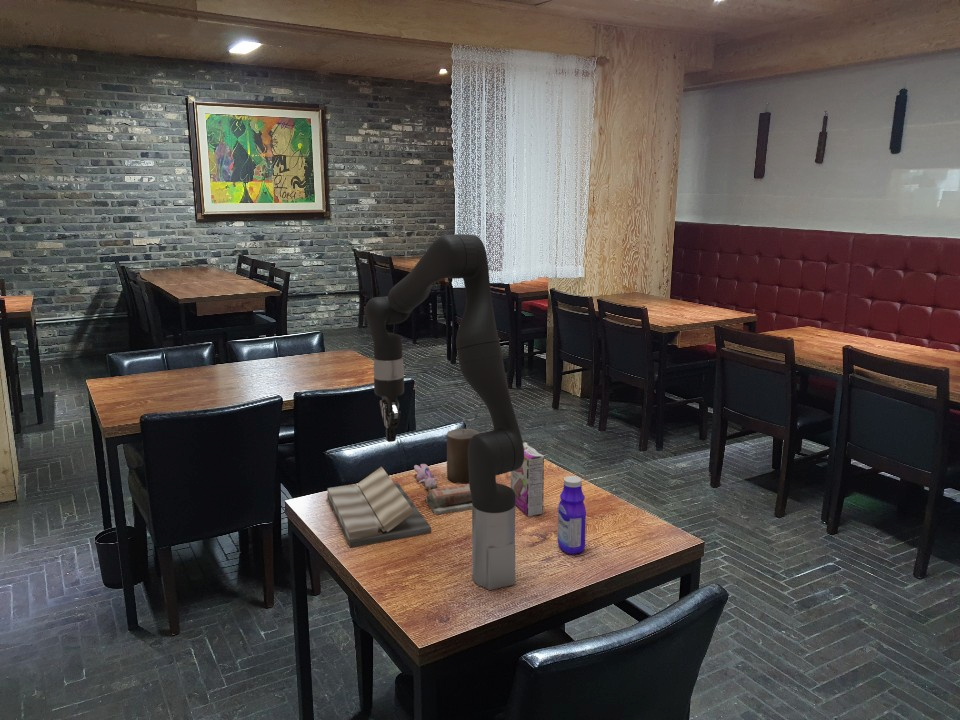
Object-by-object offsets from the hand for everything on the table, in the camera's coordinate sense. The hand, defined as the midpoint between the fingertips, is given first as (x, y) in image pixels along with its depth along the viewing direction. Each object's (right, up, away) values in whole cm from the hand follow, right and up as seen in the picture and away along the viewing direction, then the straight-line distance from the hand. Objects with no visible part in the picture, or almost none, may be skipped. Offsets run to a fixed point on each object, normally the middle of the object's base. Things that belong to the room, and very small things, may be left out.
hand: (390, 440), depth 179 cm
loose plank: (-2, -16, +3) cm, 16 cm away
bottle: (+44, -24, -15) cm, 52 cm away
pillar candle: (+18, -14, +27) cm, 36 cm away
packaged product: (+18, -19, +10) cm, 28 cm away
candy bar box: (+35, -19, +7) cm, 41 cm away
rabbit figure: (+7, -15, +24) cm, 29 cm away
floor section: (-4, -20, +3) cm, 20 cm away
